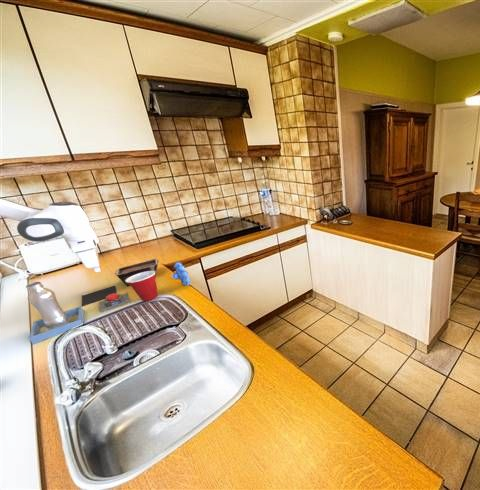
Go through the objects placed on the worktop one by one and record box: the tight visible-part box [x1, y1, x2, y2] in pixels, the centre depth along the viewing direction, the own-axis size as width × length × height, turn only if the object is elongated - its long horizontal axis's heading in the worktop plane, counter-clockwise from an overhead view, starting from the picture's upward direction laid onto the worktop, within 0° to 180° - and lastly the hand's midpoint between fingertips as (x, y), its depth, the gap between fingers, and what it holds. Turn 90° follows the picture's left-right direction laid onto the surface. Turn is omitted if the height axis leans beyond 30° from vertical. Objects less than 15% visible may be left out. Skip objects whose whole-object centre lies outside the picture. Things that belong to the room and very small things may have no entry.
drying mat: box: [81, 284, 118, 307], centre depth 126 cm, size 12×12×1 cm
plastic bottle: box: [25, 281, 71, 330], centre depth 102 cm, size 6×7×20 cm
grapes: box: [171, 261, 191, 287], centre depth 129 cm, size 12×7×12 cm, turn 50°
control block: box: [98, 292, 131, 314], centre depth 119 cm, size 10×9×3 cm
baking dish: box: [114, 258, 159, 287], centre depth 139 cm, size 14×18×10 cm
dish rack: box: [28, 305, 85, 345], centre depth 106 cm, size 14×14×3 cm
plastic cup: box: [125, 271, 159, 302], centre depth 120 cm, size 11×11×12 cm
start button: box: [106, 293, 118, 301], centre depth 118 cm, size 4×4×2 cm
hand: (98, 270), depth 113 cm, fingers closed
